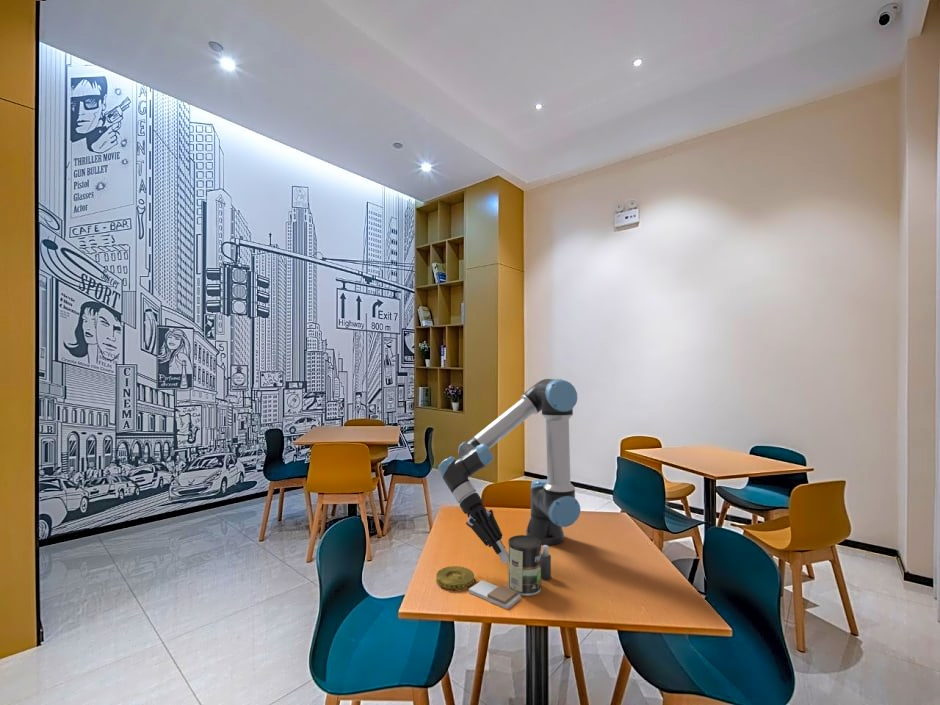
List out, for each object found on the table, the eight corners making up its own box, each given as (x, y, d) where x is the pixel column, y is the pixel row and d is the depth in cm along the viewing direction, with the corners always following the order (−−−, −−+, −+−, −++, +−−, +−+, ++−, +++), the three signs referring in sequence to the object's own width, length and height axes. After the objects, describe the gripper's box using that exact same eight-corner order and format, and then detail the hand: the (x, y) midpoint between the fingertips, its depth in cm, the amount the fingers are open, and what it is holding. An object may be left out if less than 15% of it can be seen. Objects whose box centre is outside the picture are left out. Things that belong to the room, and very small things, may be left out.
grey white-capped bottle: (543, 574, 137) (543, 543, 137) (552, 577, 134) (552, 546, 135) (538, 577, 134) (538, 546, 134) (547, 581, 132) (547, 549, 132)
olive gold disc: (479, 577, 134) (479, 570, 134) (465, 595, 123) (465, 587, 123) (446, 570, 139) (446, 563, 139) (429, 586, 128) (429, 579, 128)
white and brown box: (482, 583, 130) (482, 577, 130) (520, 599, 121) (520, 592, 121) (468, 592, 124) (468, 586, 124) (507, 609, 115) (507, 602, 115)
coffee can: (543, 582, 131) (543, 537, 132) (538, 599, 121) (538, 550, 122) (511, 576, 134) (512, 532, 135) (504, 592, 124) (504, 545, 125)
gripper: (473, 500, 150) (511, 560, 138) (449, 508, 139) (489, 574, 128) (485, 488, 147) (525, 548, 135) (462, 496, 136) (503, 562, 125)
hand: (507, 561), depth 132 cm, fingers closed
